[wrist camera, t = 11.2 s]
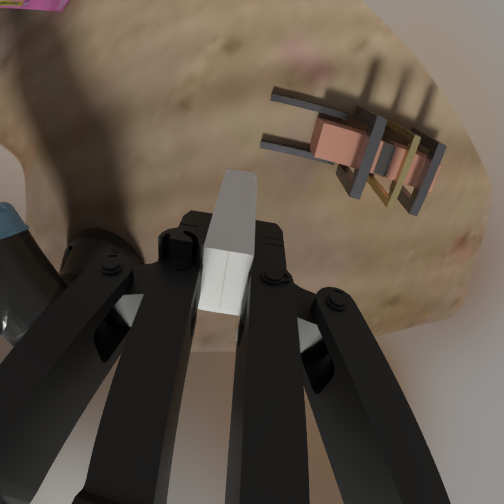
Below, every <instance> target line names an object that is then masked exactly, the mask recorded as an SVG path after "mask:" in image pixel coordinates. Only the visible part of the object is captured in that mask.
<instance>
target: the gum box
mask: <svg viewBox="0 0 504 504" xmlns="http://www.w3.org/2000/svg"><path fill="white" fill-rule="evenodd" d="M68 1H69V0H0V8H18V9H36V10H47V11H58V12H62V11H63V9H64V7H65V6H66V4H67V2H68Z"/></svg>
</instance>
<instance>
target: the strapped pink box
mask: <svg viewBox="0 0 504 504" xmlns="http://www.w3.org/2000/svg"><path fill="white" fill-rule="evenodd" d="M366 135H367V132H366V131H363V130H360V129H357V128H354V127H351V126H347V125H344V124H341V123H337V122H334V121H330V120H327V119H323V118H320V117H317V121H316V125H315V128H314V132H313V136H312V139H311V143H310V147H309V148H310V150H311V152H312V154H313V156H314V157H315V158H319V159H323V160H327V161H331V162H335V163H339V164H342V165H346V166H349V167H353V168H355V167H356V164H357V161H358V159H359V156H360V153H361V150H362V147H363V144H364V141H365V138H366ZM406 149H407V146H404V145H402V144H399V143H397V142H394V141H391V140H389V139H387V138H385V137H382V139H381V142H380V145H379V148H378V151H377V153H376V156H375V159H374V162H373V165H372V167H371V170H370V173H372V174H375V175H379V176H382V177H386V178H389V179H392V180H395V177H396V175H397V172H398V170H399V167H400V165H401V162H402V159H403V157H404V154H405V151H406ZM427 156H428V155H426V154H424V153H422V152H419V151H417V150H416V153H415V156H414V158H413V161H412V164H411V166H410V169H409V171H408V174H407V176H406V179H405V181H404V184H407V185H410V186H413V187H415V185H416V183H417V181H418V178H419V176H420V173H421V171H422V168H423V166H424V163H425V161H426V158H427ZM440 168H441V164H440V165H439V167H438V170H437V172H436V174H435V177H434V179H433V182H432V184H431V186H430V188H429V191H428V192H429V193H430V192H431V189H432V187H433V185H434V182H435V180H436V178H437V175H438V173H439V170H440Z"/></svg>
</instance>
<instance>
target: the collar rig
mask: <svg viewBox="0 0 504 504" xmlns="http://www.w3.org/2000/svg"><path fill="white" fill-rule="evenodd" d="M271 101H275V102H280V103H284V104H289V105H293V106H297V107H301V108H305V109H309V110H313V111H316V112H320V113H324V114H327V115H331V116H334V117H337V118H341V119H344V120H348V117H349V114H348V113H345V112H342V111H339V110H335V109H332V108H329V107H325V106H322V105H318V104H314V103H311V102H307V101H303V100H299V99H295V98H291V97H286V96H282V95H277V94H273V93H272V95H271ZM354 117H356V118H358V119H359V120H361V121H363V122H364V123H366V124H367V125H369V128H368V131H367V135H366V138H365V141H364V144H363V147H362V150H361V153H360V156H359V159H358V161H357V164H356V167H355V170H354V173H353V172H352V171H351V170H350V168H349V167H348V166H345V165H341V164H339V166H338V169H337V172H336V175H337V177H338V178H339V180H340V182H341V183H342V185H343V187H344V188H345V190H346V192H347V194H348V195H349V197H352V198H356V199H360V196H361V194H362V191H363V189H364V186H365V183H366V181H367V182H368V183H369V185H370V186H371V187H372V189H373V190H374V191H375V193H376V194H377V195H378V197H379V198H380V199H381V201H382V202H383V203H384V205H385V206H386V207H387V208H390V209H393V207H394V205H395V202H396V200H397V199H398V201H399V202H400V203H401V204H402V205H403V207H404V208H405V209H406V210H407V212H408V213H409V214H411V215H415V216H417V215H418V213H419V210H420V208H421V206H422V204H423V202H424V200H425V197H426V195H427V193H428V191H429V188H430V186H431V184H432V182H433V179H434V177H435V174H436V172H437V170H438V167H439V165H440V162H441V160H442V157H443V154H444V152H445V149H446V145H444V144H442V143H441V142H439V141H437V140H436V139H434V138H432V137H430V136H429V135H427V134H425V133H423V132H421V131H420V130H417V129H415V128H412V131H409V130H408V129H406V128H404V127H402V126H400V125H399V124H397V123H395V122H393V121H391V120H388V119H386V118H384V117H382V116H380V115H378V114H376V113H374V112H372V111H370V110H368V109H365V108H363V107H360V106H357V108H356V112H355V115H354ZM386 126H388V127H390V128H391V129H393V130H395V131H396V132H398V133H400V134H401V135H403V136H404V137H406V138H408V139H409V143H408V146H407V149H406V151H405V154H404V157H403V159H402V162H401V165H400V167H399V170H398V172H397V175H396V177H395V180H394V181H393V182H392V184H391V187H390V189H389V190H390V192H389V194H388V193H387V192H386V191H385V190H384V188H383V187H382V186H381V185H380V184H379V182H378V181H377V180H376V179H375V178H374V176H371V175H369V173H370V170H371V167H372V165H373V162H374V159H375V156H376V153H377V151H378V148H379V145H380V142H381V139H382V136H383V133H384V130H385V127H386ZM419 143H420V144H421V145H423V146H424V147H426V148H427V149H429V153H428V156H427V158H426V161H425V163H424V166H423V168H422V171H421V173H420V176H419V178H418V181H417V183H416V185H415V188H414V190H413V192H412V195H411V194H410V193H409V192H408V191H407V189H406V188H405V187H404V186H403V183H404V181H405V179H406V176H407V174H408V171H409V169H410V166H411V164H412V161H413V158H414V156H415V153H416V150H417V148H418V145H419ZM260 148H263V149H268V150H273V151H278V152H282V153H287V154H291V155H296V156H300V157H304V158H308V159H312V160H316V161H320V162H324V163H328V164H332V165H334V162H331V161H327V160H323V159H319V158H315V157H314V156H313V154H312V152H311V151H309V150H305V149H301V148H297V147H293V146H288V145H284V144H279V143H275V142H270V141H265V140H261V144H260Z"/></svg>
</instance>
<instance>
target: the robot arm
mask: <svg viewBox="0 0 504 504" xmlns="http://www.w3.org/2000/svg"><path fill="white" fill-rule="evenodd" d="M256 190H257V174H256V173H250V172H244V171H238V170H232V169H226V172H225V176H224V179H223V182H222V185H221V188H220V192H219V195H218V198H217V202H216V205H215V208H214V212H213V214H211V213H205V212H198V211H192V210H191V211H190V212H188V213H187V214H185V215H184V216H183V218H182V220H181V222H180V225H179V227H178V228H172V229H168V230H166V231H164V232H162V233H161V234H160V235H159V236H158V251H159V259H158V261H157V262H155V263H152V264H146V265H143V263H142V261H141V259H140V257H139V256H138V254H137V253H136V252H135V251H134V250H133V248H132V247H131V246H129V245H128V244H127V243H126V242H125V241H123V240H122V239H121V238H119V237H117V236H115V235H113V234H111V233H109V232H106V231H102V230H86V231H83V232H80V233H79V234H77V235H76V236H75V237H74V238H73V240H72V241H71V242H70V243H69V245H68V246H67V248H66V250H65V253H64V257H63V260H62V264H61V267H60V271H59V274H58V272H57V271H56V270H55V268H54V267H53V265H52V264H51V263H50V261H49V260H48V259H47V257H46V256H45V254H44V253H43V252H42V250H41V249H40V247H39V246H38V244H37V243H36V241H35V240H34V238H33V237H32V235H31V233H30V232H29V230H28V229H29V227H28V225H25V223H24V222H23V221H22V219H21V218H20V216H19V215H18V213H17V212H16V210H15V208H14V207H13V206H12V205H11V204H9V203H7V202H0V336H3V337H4V338H5V339H6V340H7V341H8V342H9V343H10V344H11V345H12V346H13V347H14V348H13V349H12V350H11V352H10V353H9V354H8V355H7V357H6V358H5V359H4V360H3V362H2V363H1V364H0V504H29V503H30V502H31V501H32V499H33V497H34V496H35V494H36V493H37V491H38V489H39V487H40V485H41V484H42V482H43V480H44V478H45V476H46V474H47V473H48V471H49V469H50V467H51V465H52V463H53V462H54V460H55V458H56V457H57V455H58V453H59V452H60V450H61V448H62V446H63V445H64V443H65V441H66V440H67V438H68V436H69V435H70V433H71V431H72V429H73V428H74V426H75V425H76V423H77V421H78V420H79V418H80V416H81V415H82V413H83V412H84V410H85V408H86V407H87V405H88V403H89V402H90V400H91V399H92V397H93V396H94V394H95V393H96V391H97V389H98V388H99V386H100V385H101V383H102V381H103V380H104V379H105V377H106V376H107V374H108V373H109V371H110V370H111V368H112V366H113V365H114V364H115V362H116V360H117V359H118V357H119V356H120V355H121V357H120V360H119V362H118V366H117V368H116V371H115V375H114V378H113V381H112V384H111V387H110V390H109V393H108V397H107V400H106V404H105V407H104V410H103V414H102V417H101V421H100V424H99V428H98V432H97V436H96V440H95V443H94V447H93V452H92V456H91V460H90V464H89V469H88V473H87V479H86V482H85V485H84V487H83V489H82V490H81V491H80V492H79V493H78V494H77V495H76V496H75V498H74V500H73V502H72V504H166V502H167V494H168V486H169V477H170V470H171V464H172V456H173V450H174V449H173V448H174V443H175V436H176V430H177V424H178V418H179V411H180V405H181V399H182V394H183V388H184V382H185V377H186V371H187V365H188V361H189V355H190V350H191V345H192V340H193V335H194V330H195V325H196V317H197V309H201V310H206V311H213V312H219V313H225V314H232V315H238V316H240V313H241V317H240V322H239V326H238V330H237V334H236V338H235V341H237V347H236V360H235V372H234V385H233V398H232V412H231V424H230V439H229V452H228V466H227V480H226V494H225V504H310V503H309V474H308V473H309V472H308V451H307V432H306V417H305V401H304V388H305V391H306V394H307V397H308V400H309V402H310V406H311V408H312V411H313V414H314V417H315V420H316V423H317V426H318V428H319V431H320V435H321V437H322V440H323V443H324V446H325V449H326V452H327V455H328V458H329V461H330V464H331V467H332V469H333V472H334V476H335V479H336V482H337V484H338V487H339V490H340V493H341V496H342V499H343V502H344V504H450V500H449V498H448V495H447V492H446V490H445V487H444V485H443V482H442V480H441V477H440V474H439V472H438V469H437V467H436V464H435V462H434V460H433V457H432V455H431V453H430V450H429V448H428V446H427V444H426V441H425V439H424V436H423V434H422V432H421V430H420V428H419V425H418V423H417V421H416V419H415V417H414V415H413V412H412V410H411V408H410V406H409V404H408V402H407V400H406V398H405V396H404V394H403V392H402V390H401V388H400V386H399V384H398V382H397V380H396V378H395V376H394V374H393V372H392V370H391V368H390V366H389V364H388V362H387V360H386V358H385V356H384V354H383V352H382V351H381V349H380V347H379V345H378V343H377V341H376V339H375V338H374V336H373V334H372V332H371V330H370V328H369V327H368V325H367V323H366V321H365V319H364V318H363V316H362V314H361V312H360V310H359V309H358V307H357V305H356V303H355V302H354V300H353V299H352V298H351V296H350V295H349V294H347V293H346V292H344V291H343V290H340V289H338V288H334V287H326V288H322V289H321V290H319V291H318V292H317V294H315V293H312V292H310V291H307V290H305V289H303V288H300V287H299V286H297V285H296V284H294V282H293V278H292V276H291V274H290V273H289V272H288V271H287V269H286V259H285V249H284V241H283V231H282V230H281V229H280V227H279V226H278V225H277V224H275V223H269V222H264V221H258V220H255V219H256ZM121 353H122V354H121ZM303 385H304V388H303Z"/></svg>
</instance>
